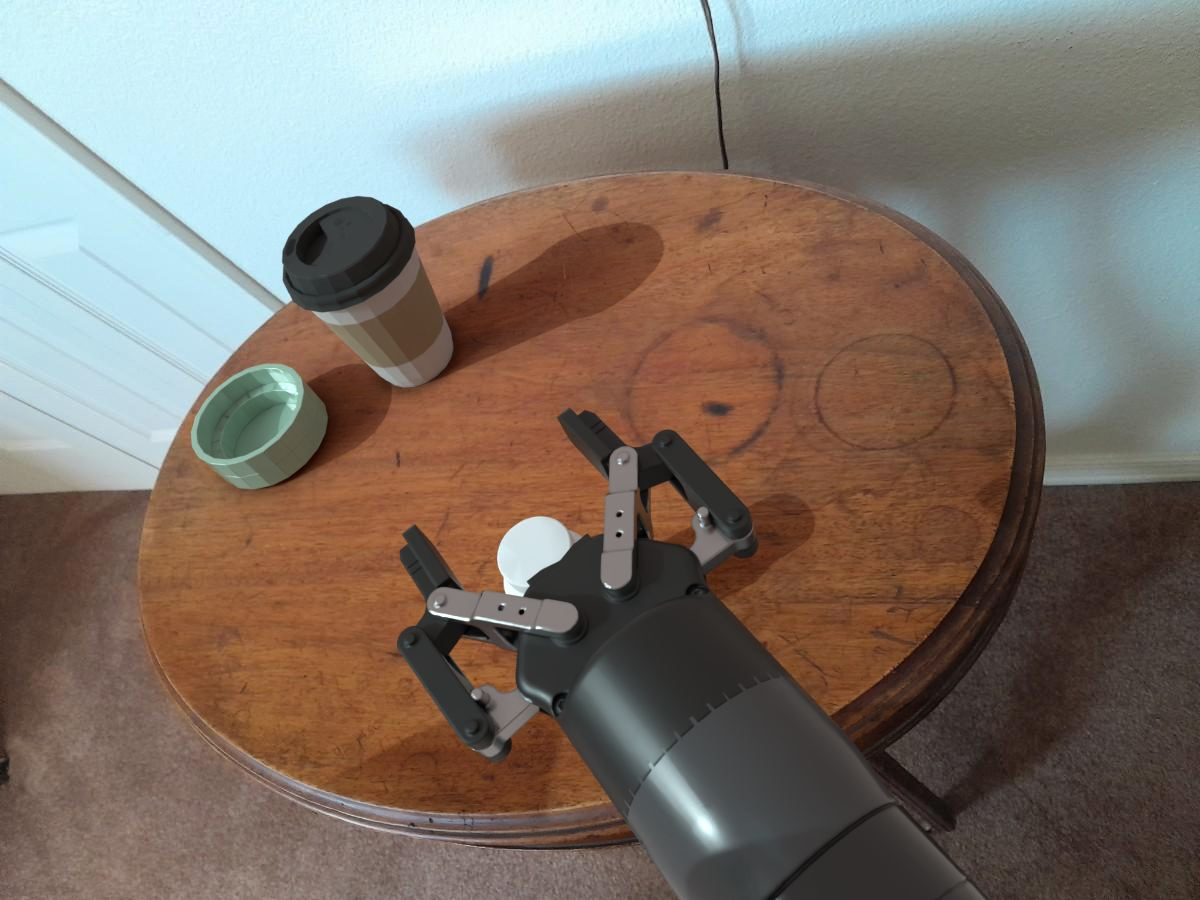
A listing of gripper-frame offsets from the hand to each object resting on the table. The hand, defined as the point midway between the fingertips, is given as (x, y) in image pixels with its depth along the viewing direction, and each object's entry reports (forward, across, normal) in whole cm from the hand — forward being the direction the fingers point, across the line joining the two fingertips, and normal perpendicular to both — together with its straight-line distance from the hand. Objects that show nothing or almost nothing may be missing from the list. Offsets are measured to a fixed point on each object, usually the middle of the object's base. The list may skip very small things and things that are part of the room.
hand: (492, 479), depth 39 cm
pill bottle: (+4, 0, +23) cm, 24 cm away
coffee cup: (+36, -2, +23) cm, 43 cm away
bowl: (+38, +12, +23) cm, 46 cm away
